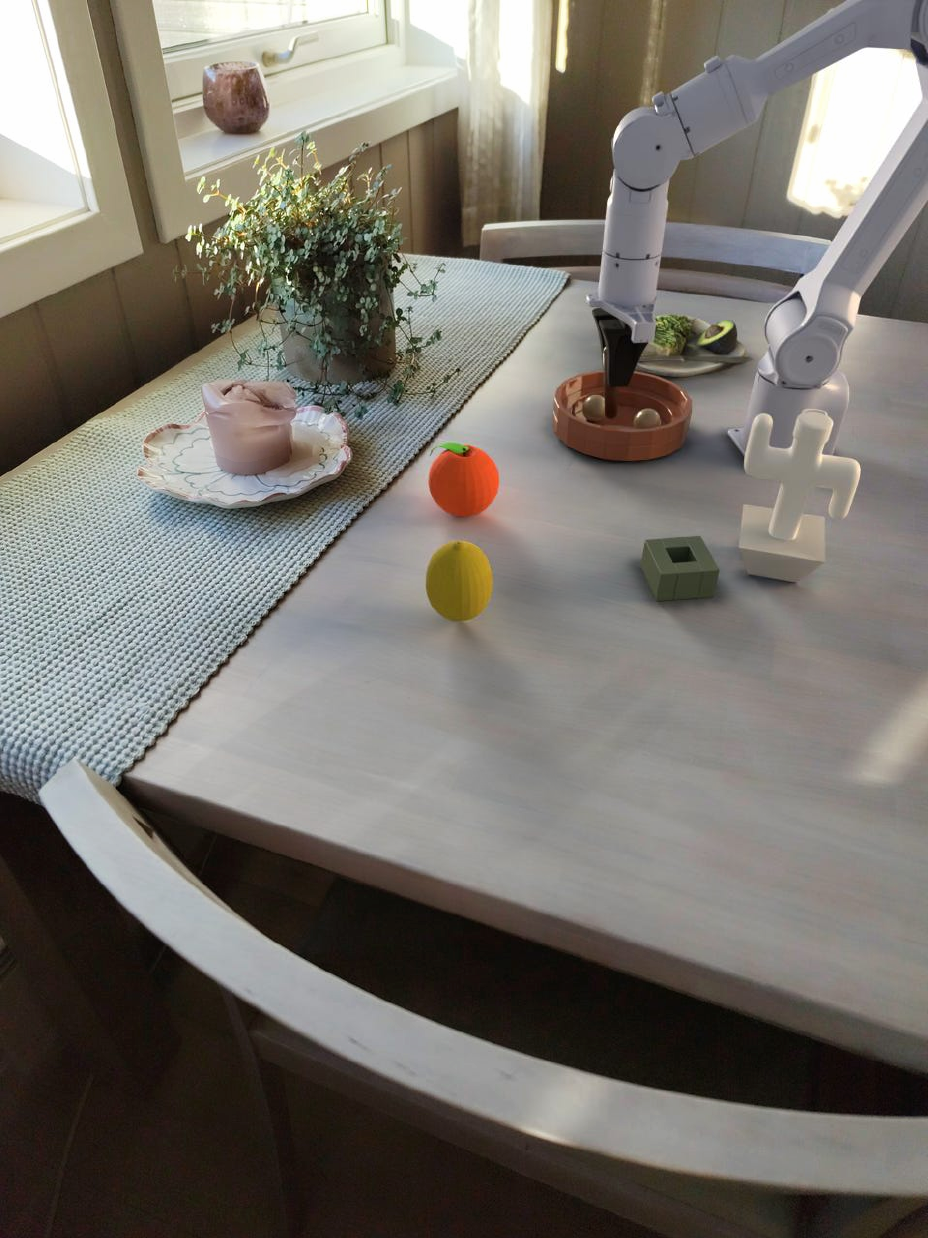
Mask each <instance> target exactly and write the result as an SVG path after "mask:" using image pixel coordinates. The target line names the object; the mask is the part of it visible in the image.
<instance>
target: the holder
mask: <svg viewBox="0 0 928 1238" xmlns="http://www.w3.org/2000/svg"><path fill="white" fill-rule="evenodd" d="M642 548H643V549H642V555H641V560H640V568H641V572H643V575H644V577H645V579H646V581H647V583H648V586H649V588H650V590H651V592H652V595H653V597H654V599H655V601H656V602H663V601H677V600H690V599H691V600H692V599H704V598H706V599H707V598H714V596H715V592H716V588H717V584H718V579H719V575H720V571H721V570H720V568H719V565H718V564H717V563H716V561H715V559H714V557H713V556H712V554H711V552H710V550H709V548H708V547H707V545H706V543H705V541H704V540H703V538H702V536H701V535H692V536H691V535H690V536H679V537H678V536H677V537H663V538H650V539H645V540H644V541H643V547H642Z"/></svg>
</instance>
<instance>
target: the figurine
mask: <svg viewBox="0 0 928 1238" xmlns="http://www.w3.org/2000/svg"><path fill="white" fill-rule="evenodd" d="M772 426H773V420H772V418H771V416H770V415H768V414H765V413H762V414H759V415H757V416H756V417H755V419H754V421H753V424H752V428H751V432H750V436H749V441H748V445H747V449H746V453H745V457H744V460H743V468H744V471H745V473H746V474H747V475H748V476H750V477H753V478H758V479H762V480H763V479H764V480H770V481H775V482H778V483H781V484H780V487H779V490H778V493H777V497H776V499H775V500H776V501H775V504H774V507H773V508H770V507H765V506H758V505H751V504H745V503H743V506H742V515H741V523H740V531H739V540H738V550H739V553H740V557H741V559H742V562H743V565H744V567H745V571H746V573H747V575H752V576H756V577H761V578H762V577H763V578H767V579H772V580H773V579H774V580H779V581H784V582H785V581H786V582H789V583H790V582H791V583H796V584H797V583H798V582H800V581H801V580H803V579H805V578H806V577H807V576H808V575H809V574H812V572H814V571H815V570H816V569H818V568H820V567H821V566H822V565H823V564H825V562H826V527H825V526H826V520H825V519H826V518H825V516H821V515H820V516H819V515H814V514H809V513H804V512H805V510H806V506H807V502H808V500H809V496H810V493H811V491H812V489H813V488H815V487H816V488H821V489H828V490H831V491H832V495H831V498H830V502H829V505H828V514H829V516H830V517H831V518H833V519H834V520H838V521H840V520H844V519H845V518H846V517H847V516H848V514H849V512H850V508H851V506H852V503H853V500H854V498H855V494H856V491H857V488H858V485H859V483H860V478H861V465H860V463H859V462H858V461H857V460H856V459H853V458H850V457H844V456H838V455H837V456H836V455H834V456H831V455H824V454H822V451H823V447H824V444H825V443H826V442H827V441H828V440H829V436H830V433H831V430H832V427H833V420H832V419H831V418H830V417H828V416H827V413H826V412H825V411H822V410H818V409H805V410H804V411H803V412H802V414H800V415H798V417H797V420H796V423H795V427H794V431H793V437H794V439H793V443H792V446H791V447H790V448H787V449H782V448H775V447H771V446H770V445H769V439H770V435H771V431H772Z"/></svg>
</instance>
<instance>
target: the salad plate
mask: <svg viewBox="0 0 928 1238" xmlns="http://www.w3.org/2000/svg"><path fill="white" fill-rule="evenodd" d="M654 320H655V322H656V326H657V331H656V334H655V336H654V342H649V343H648V344H647V346H646V347H645V349H644V351H643V352H642V354H641V356H640V359H639V361H638V363H637V366H636V368H635V371H637V372H642V373H646V374H651V375H655V376H662V377H670V378H688V377H693V376H697V375H702V374H709V373H717V372H721V371H725V370H728V369H731V368H733V367H735V366H738V365H742V364H746V363H749V362H752V361H753V360H754V358H753V357H751V356H746V352H747V351H746V346H745V345H744V343H742V342H741V341H739V340H738V329H737V324H736V323H735V322H734V321H733V320H730V319H725V320H722V321H718V322H716V324H710V323H708V322H707V321H705V320H703V319H700V318H698V317H694V316H690V315H685V314H684V315H683V314H662V315H657V316H654Z"/></svg>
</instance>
